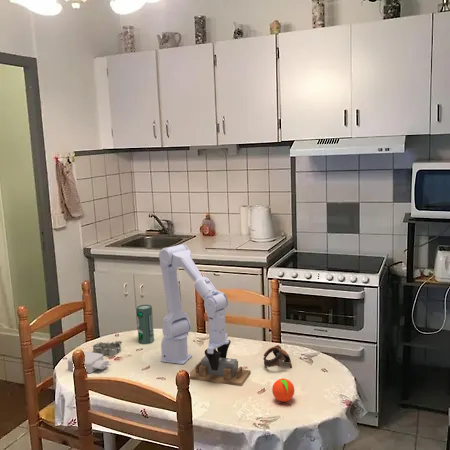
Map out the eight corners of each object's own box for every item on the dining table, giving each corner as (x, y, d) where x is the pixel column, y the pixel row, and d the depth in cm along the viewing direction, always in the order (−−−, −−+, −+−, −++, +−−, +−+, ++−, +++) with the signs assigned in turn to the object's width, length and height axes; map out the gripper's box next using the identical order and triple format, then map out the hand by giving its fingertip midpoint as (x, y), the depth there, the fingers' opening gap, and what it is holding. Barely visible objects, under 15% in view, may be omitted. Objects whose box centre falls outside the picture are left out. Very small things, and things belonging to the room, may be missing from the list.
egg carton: (124, 350, 206) (123, 341, 206) (113, 358, 199) (112, 347, 199) (101, 347, 210) (101, 337, 210) (90, 354, 203) (89, 344, 203)
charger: (102, 377, 183) (68, 371, 189) (117, 366, 191) (84, 361, 197) (101, 364, 182) (67, 359, 188) (116, 354, 190) (83, 349, 196)
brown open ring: (295, 373, 181) (284, 356, 178) (271, 383, 183) (260, 366, 180) (292, 351, 192) (281, 335, 189) (269, 361, 194) (259, 345, 191)
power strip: (201, 373, 180) (200, 359, 179) (205, 368, 183) (205, 354, 183) (233, 377, 176) (233, 363, 175) (237, 372, 179) (237, 358, 178)
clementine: (299, 405, 157) (298, 384, 156) (277, 409, 156) (276, 387, 155) (290, 393, 165) (289, 372, 164) (269, 396, 164) (269, 375, 163)
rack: (187, 378, 179) (186, 366, 178) (198, 366, 188) (197, 355, 187) (241, 385, 172) (241, 373, 171) (250, 373, 181) (250, 361, 180)
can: (141, 338, 218) (138, 304, 215) (155, 338, 217) (153, 304, 215) (137, 344, 212) (134, 309, 209) (151, 344, 211) (149, 309, 209)
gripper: (220, 336, 169) (222, 375, 171) (234, 322, 182) (236, 358, 184) (200, 334, 171) (202, 373, 173) (216, 320, 185) (217, 356, 187)
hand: (218, 365), depth 179 cm, fingers open, 7 cm apart
